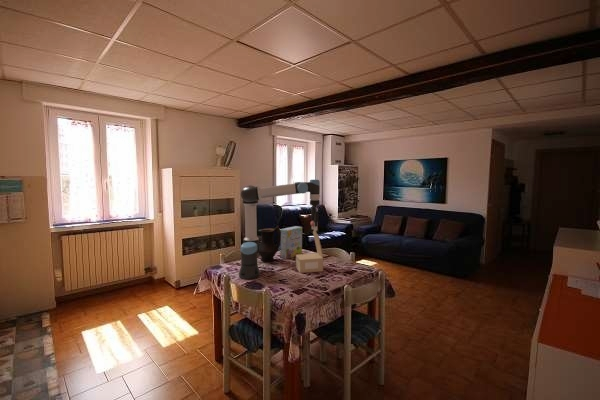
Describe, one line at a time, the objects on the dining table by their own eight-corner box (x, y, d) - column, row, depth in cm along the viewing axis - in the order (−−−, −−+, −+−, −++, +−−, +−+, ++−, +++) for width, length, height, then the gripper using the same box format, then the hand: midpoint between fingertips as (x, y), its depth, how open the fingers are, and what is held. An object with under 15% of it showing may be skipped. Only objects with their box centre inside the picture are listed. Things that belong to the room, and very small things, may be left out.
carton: (299, 272, 213) (299, 259, 212) (295, 267, 226) (295, 254, 226) (323, 271, 217) (323, 258, 216) (317, 265, 231) (317, 253, 230)
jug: (252, 263, 237) (251, 227, 234) (261, 256, 254) (261, 223, 252) (276, 265, 231) (275, 228, 228) (284, 258, 248) (283, 224, 246)
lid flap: (313, 223, 213) (317, 222, 213) (308, 220, 225) (312, 219, 226) (320, 257, 216) (325, 256, 217) (315, 253, 229) (319, 251, 230)
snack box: (287, 259, 246) (287, 230, 244) (280, 257, 251) (279, 229, 249) (302, 254, 263) (302, 226, 261) (295, 252, 268) (295, 225, 266)
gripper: (323, 200, 210) (322, 231, 212) (316, 198, 228) (315, 227, 230) (313, 200, 208) (313, 232, 210) (306, 198, 226) (306, 227, 228)
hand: (314, 229), depth 220 cm, fingers closed on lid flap, 5 cm apart
